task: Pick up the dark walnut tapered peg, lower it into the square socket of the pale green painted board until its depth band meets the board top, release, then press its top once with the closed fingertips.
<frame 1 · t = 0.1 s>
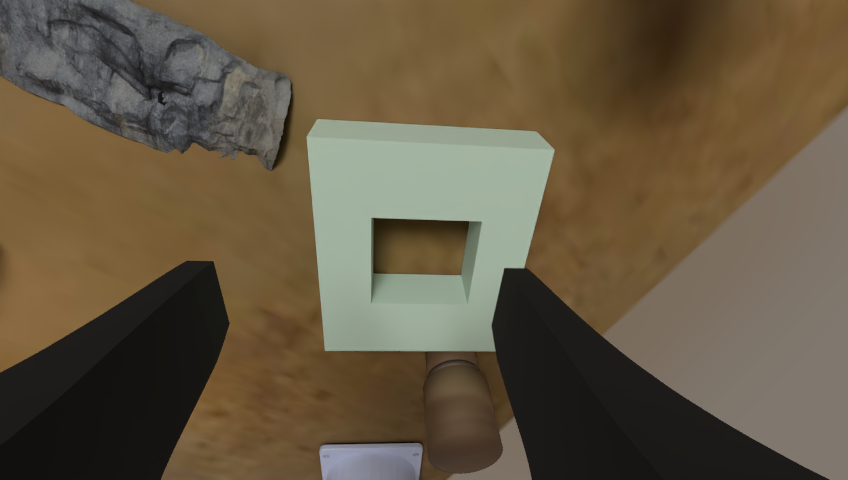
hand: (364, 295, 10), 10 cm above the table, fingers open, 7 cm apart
peg: (449, 347, 26), on the table
board: (420, 237, 21), on the table
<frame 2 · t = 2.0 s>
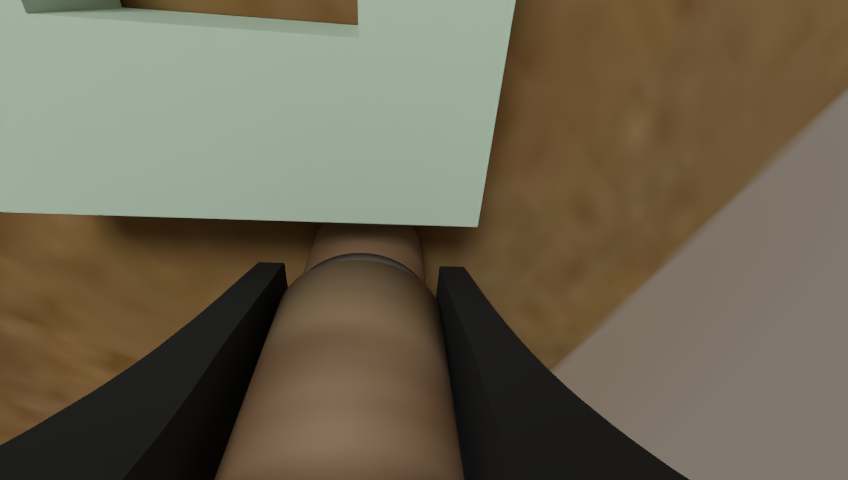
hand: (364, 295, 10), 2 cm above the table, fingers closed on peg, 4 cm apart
peg: (368, 253, 12), on the table, touching gripper
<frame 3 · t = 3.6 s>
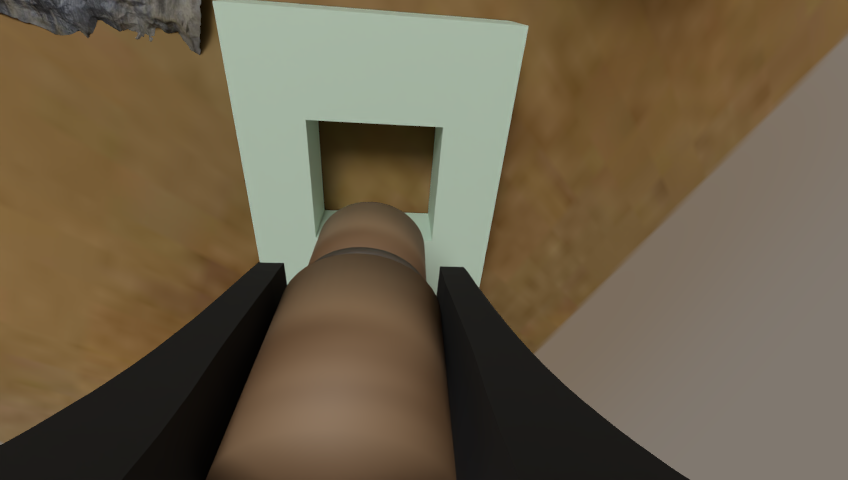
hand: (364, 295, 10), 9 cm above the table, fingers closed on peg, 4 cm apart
peg: (371, 249, 12), point 7 cm above the table, touching gripper
board: (377, 163, 18), on the table
when the fingers open (3 cm above the table, at t = 5.4 s): peg drops 1 cm, resting in board.
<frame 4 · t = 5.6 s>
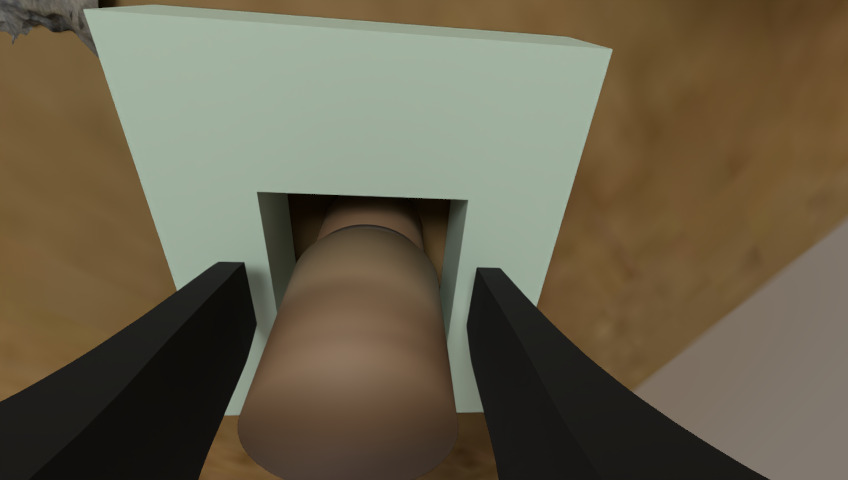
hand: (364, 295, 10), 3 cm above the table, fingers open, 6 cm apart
peg: (372, 231, 13), resting in board
board: (370, 231, 13), on the table
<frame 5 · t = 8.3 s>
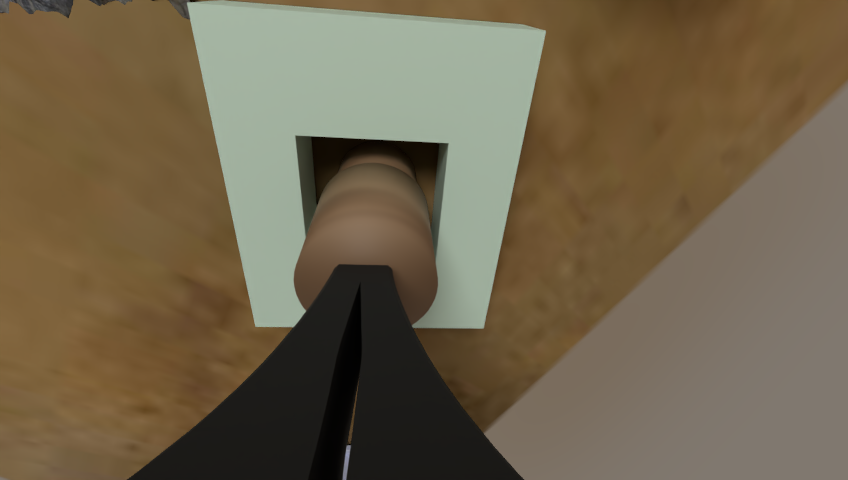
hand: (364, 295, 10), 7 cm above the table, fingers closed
peg: (377, 179, 16), resting in board
board: (375, 179, 16), on the table
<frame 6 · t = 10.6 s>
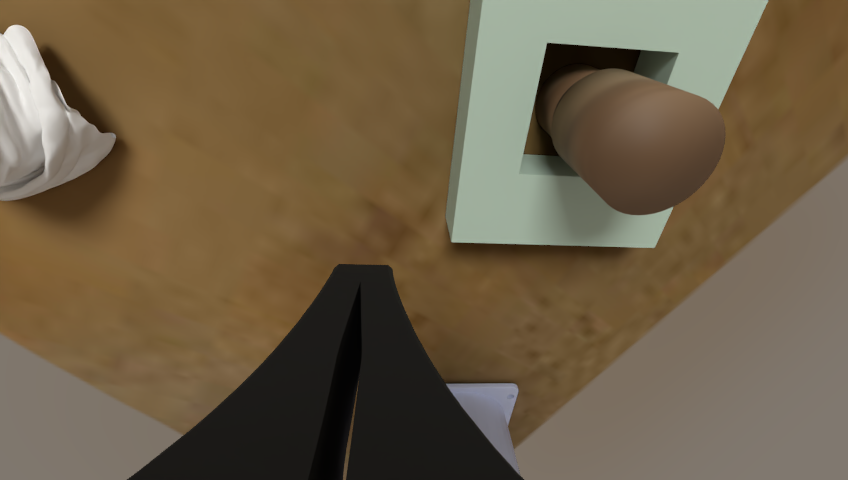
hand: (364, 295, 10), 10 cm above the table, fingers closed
peg: (570, 102, 18), resting in board
whipped cream: (18, 109, 17), on the table
board: (569, 102, 18), on the table
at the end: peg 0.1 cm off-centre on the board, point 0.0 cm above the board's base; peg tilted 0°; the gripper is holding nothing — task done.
